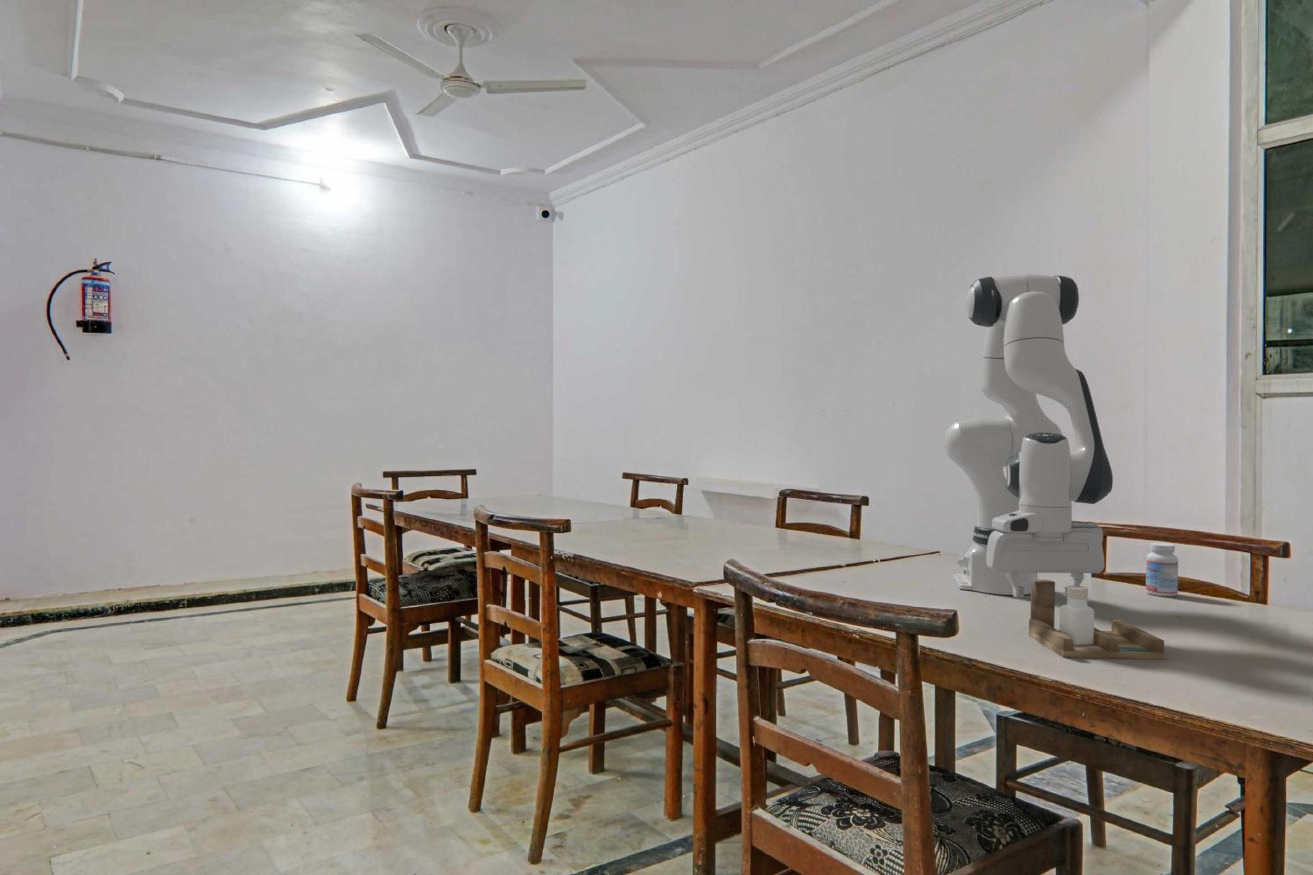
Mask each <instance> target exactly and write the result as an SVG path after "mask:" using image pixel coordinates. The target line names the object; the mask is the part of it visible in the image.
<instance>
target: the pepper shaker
mask: <svg viewBox="0 0 1313 875" xmlns="http://www.w3.org/2000/svg"><path fill="white" fill-rule="evenodd" d="M1066 587H1067V597H1066V598H1067V600H1066V604H1063V605H1060V607H1059V630H1060V632H1061V633H1063V634H1065V635H1067V636H1068V637H1070V638H1072V639H1073V645H1074V646H1083V645H1092V644H1093V642H1094V627H1095V610H1094V608H1092V607H1091V606H1089V605H1088V600H1089V598H1088V597H1089V596H1088V595H1089V589H1088V587H1086V586H1083V585H1080V586H1069V585H1067V586H1066Z"/></svg>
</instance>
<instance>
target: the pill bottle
mask: <svg viewBox="0 0 1313 875" xmlns="http://www.w3.org/2000/svg"><path fill="white" fill-rule="evenodd" d="M1175 547H1176V546H1175V544H1172V543H1166V542H1150V551H1151V552H1149V553H1148V554H1147V555H1146V559H1145V560H1146V564H1145V565H1146V568H1145V592H1146V594H1148V595H1151V596H1155V597H1162V596H1163V597H1164V598H1165V597H1166V598H1167V597H1170V598H1171V597H1172V598H1173V597H1176V596H1177V595H1178V590H1179V589H1178V587H1179V585H1178V584H1179V558H1178V556H1177V555H1175V554H1174V553H1175V550H1176V549H1175Z"/></svg>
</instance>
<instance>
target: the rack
mask: <svg viewBox="0 0 1313 875" xmlns="http://www.w3.org/2000/svg"><path fill="white" fill-rule="evenodd" d="M1028 636H1029V637H1031V638H1032V637H1033V638H1032V639H1034V640H1035V639H1036V640H1035V641H1036V642H1039V643H1040V644H1042V645H1044V646H1045V647H1047V648H1048V649H1050V650H1051V651H1053V652H1054V653H1056V654H1058V655H1059V656H1060V657H1062V658H1069V657H1071V658H1073V659H1075V658H1076V659H1077V658H1080V659H1081V658H1082V659H1083V658H1085V659H1134V660H1135V659H1137V660H1139V659H1141V660H1144V659H1146V660H1164V659H1165V640H1163V639H1162V638H1159V637H1158V636H1155V635H1153V634H1151V633H1149V632H1147V631H1144V630H1142V629H1140V628H1139V627H1136V626H1134V625H1132V624H1130V623H1128V622H1126V621H1123V620H1121V619H1111V630H1100V629H1098V628H1097V627H1095V626H1094V642H1093V644H1092V645H1083V646H1074V645H1073V639H1072V638H1070V637H1068V636H1067V635H1065V634H1063V633H1061V632H1060V629H1058V630H1057V629H1056V628H1055V627H1054V628H1053V627H1051V626H1049V625H1048V624H1046V623H1044V622H1042V621H1041V620H1039V619H1031V618H1029V619H1028Z"/></svg>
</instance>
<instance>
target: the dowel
mask: <svg viewBox="0 0 1313 875" xmlns="http://www.w3.org/2000/svg"><path fill="white" fill-rule="evenodd" d="M1055 599H1056V581H1053V580H1049V579H1039V578H1038V579H1035V580H1031V594H1030V619H1039V620H1041V621H1042V622H1044V623H1046V624H1048V625H1049V626H1051V627H1053V628H1054V629H1055V607H1056V600H1055Z"/></svg>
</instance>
